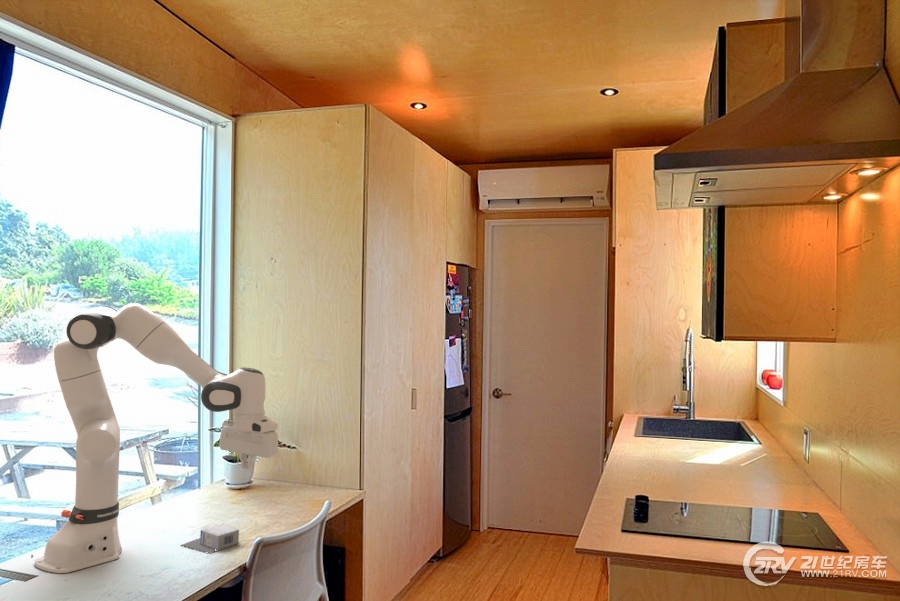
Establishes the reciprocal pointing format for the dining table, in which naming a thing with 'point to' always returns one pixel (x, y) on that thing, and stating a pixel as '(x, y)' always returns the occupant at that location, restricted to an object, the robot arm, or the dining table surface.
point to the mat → (198, 546)
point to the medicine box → (219, 536)
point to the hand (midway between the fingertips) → (247, 468)
